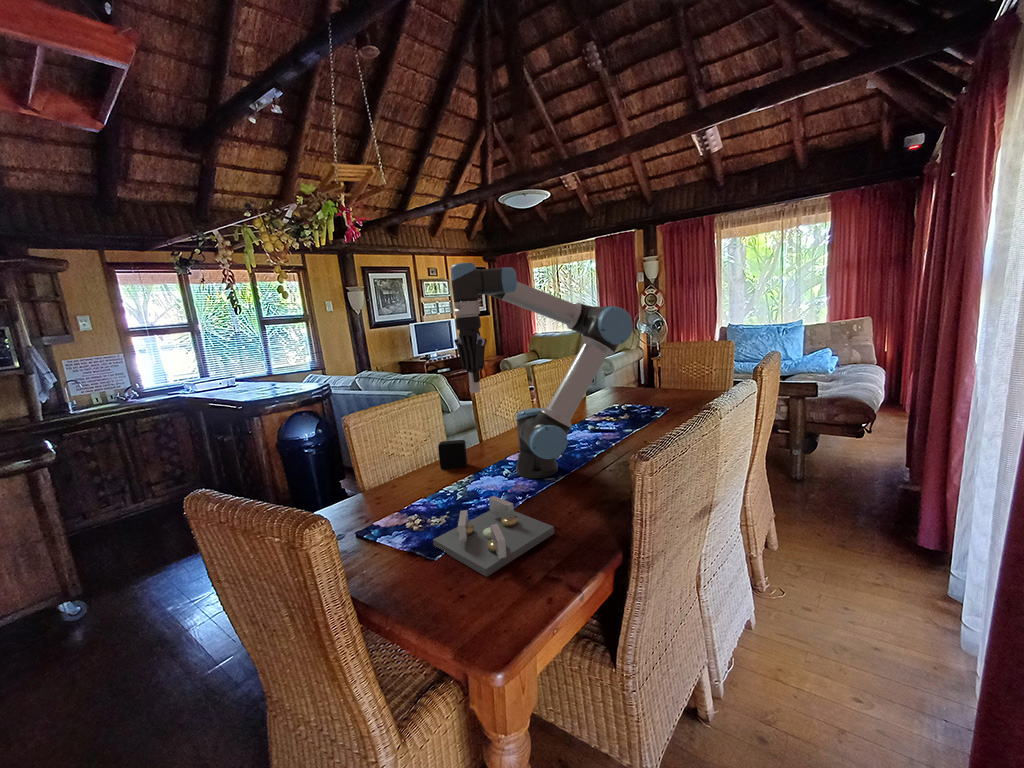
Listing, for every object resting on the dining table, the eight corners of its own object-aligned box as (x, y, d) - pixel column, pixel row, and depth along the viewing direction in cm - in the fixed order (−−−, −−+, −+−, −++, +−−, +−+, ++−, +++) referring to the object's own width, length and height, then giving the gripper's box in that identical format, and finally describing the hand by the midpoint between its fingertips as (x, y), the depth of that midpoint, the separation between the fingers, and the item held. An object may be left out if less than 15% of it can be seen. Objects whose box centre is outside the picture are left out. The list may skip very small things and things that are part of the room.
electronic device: (466, 467, 171) (463, 442, 169) (440, 469, 172) (437, 444, 170) (467, 463, 175) (465, 439, 174) (442, 465, 176) (439, 441, 174)
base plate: (500, 511, 133) (499, 501, 132) (554, 533, 118) (553, 522, 117) (433, 546, 117) (432, 535, 116) (486, 577, 102) (485, 564, 101)
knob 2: (521, 522, 121) (519, 502, 120) (509, 528, 118) (507, 509, 117) (498, 512, 128) (497, 494, 127) (487, 518, 125) (485, 499, 124)
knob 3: (486, 544, 111) (484, 523, 110) (503, 540, 112) (501, 520, 111) (494, 564, 102) (491, 542, 101) (512, 560, 103) (510, 538, 102)
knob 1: (458, 528, 120) (456, 509, 119) (474, 526, 120) (472, 507, 119) (455, 546, 111) (452, 526, 110) (472, 545, 111) (470, 524, 110)
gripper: (444, 317, 137) (453, 392, 141) (471, 316, 127) (479, 396, 132) (463, 315, 142) (471, 388, 146) (491, 314, 133) (498, 391, 137)
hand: (475, 392), depth 139 cm, fingers closed
